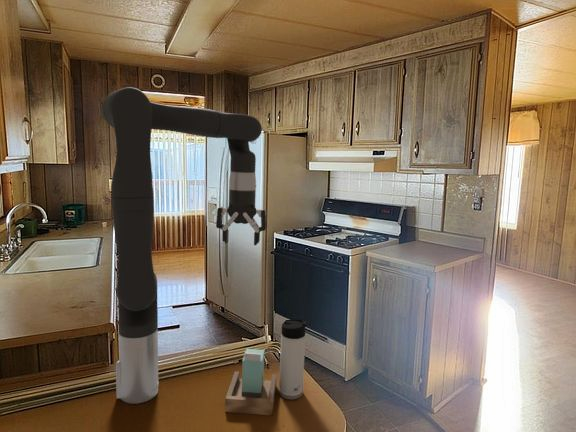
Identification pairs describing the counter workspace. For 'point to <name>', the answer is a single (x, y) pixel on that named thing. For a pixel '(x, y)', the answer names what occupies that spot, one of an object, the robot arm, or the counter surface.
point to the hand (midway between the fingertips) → (241, 243)
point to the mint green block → (252, 373)
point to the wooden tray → (250, 398)
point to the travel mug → (292, 358)
